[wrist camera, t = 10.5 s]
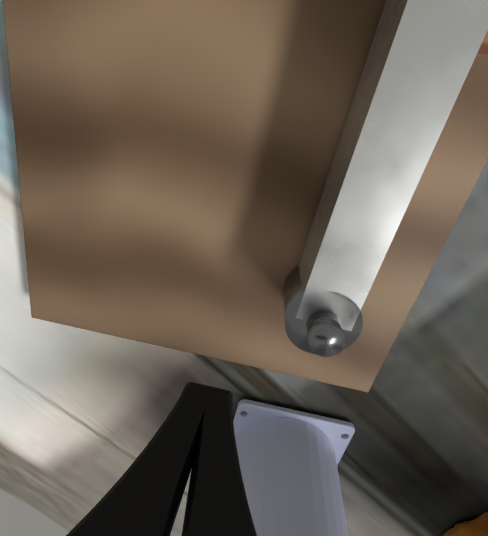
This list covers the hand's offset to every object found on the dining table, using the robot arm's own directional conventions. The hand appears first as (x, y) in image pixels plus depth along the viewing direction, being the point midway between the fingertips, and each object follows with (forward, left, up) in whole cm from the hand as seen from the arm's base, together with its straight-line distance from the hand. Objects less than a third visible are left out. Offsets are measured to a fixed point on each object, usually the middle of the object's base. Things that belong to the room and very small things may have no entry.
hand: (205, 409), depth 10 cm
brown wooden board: (+6, +1, -9) cm, 11 cm away
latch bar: (+7, -4, -8) cm, 11 cm away
